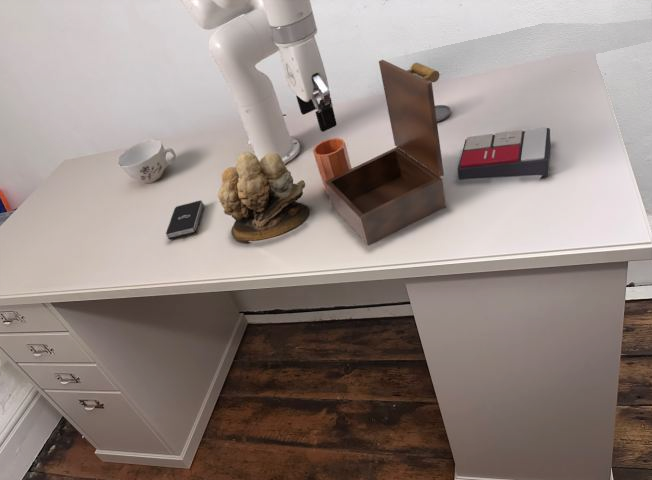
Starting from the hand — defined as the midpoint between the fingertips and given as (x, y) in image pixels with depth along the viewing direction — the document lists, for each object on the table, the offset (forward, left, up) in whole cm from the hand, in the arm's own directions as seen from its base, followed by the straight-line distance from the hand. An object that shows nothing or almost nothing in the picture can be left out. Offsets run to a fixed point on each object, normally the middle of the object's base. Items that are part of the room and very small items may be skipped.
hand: (318, 119), depth 100 cm
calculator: (+26, +19, -16) cm, 36 cm away
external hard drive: (-24, -26, -16) cm, 38 cm away
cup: (+1, 0, -16) cm, 16 cm away
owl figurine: (-4, -16, -16) cm, 23 cm away
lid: (+18, +5, 0) cm, 18 cm away
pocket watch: (+1, +29, -16) cm, 33 cm away
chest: (+15, -2, -16) cm, 22 cm away
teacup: (-54, -18, -16) cm, 59 cm away
